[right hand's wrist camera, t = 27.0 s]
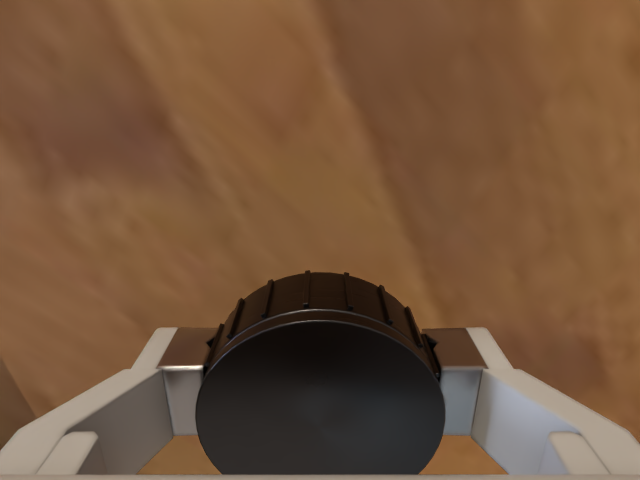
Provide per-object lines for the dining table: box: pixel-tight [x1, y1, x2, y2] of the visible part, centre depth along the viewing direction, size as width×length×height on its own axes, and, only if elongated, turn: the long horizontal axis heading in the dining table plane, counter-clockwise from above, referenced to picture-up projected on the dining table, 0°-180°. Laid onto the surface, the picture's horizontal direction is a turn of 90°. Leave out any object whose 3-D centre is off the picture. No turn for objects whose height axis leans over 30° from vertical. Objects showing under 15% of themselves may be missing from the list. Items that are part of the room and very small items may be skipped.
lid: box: [195, 270, 446, 475], centre depth 9 cm, size 5×5×2 cm
